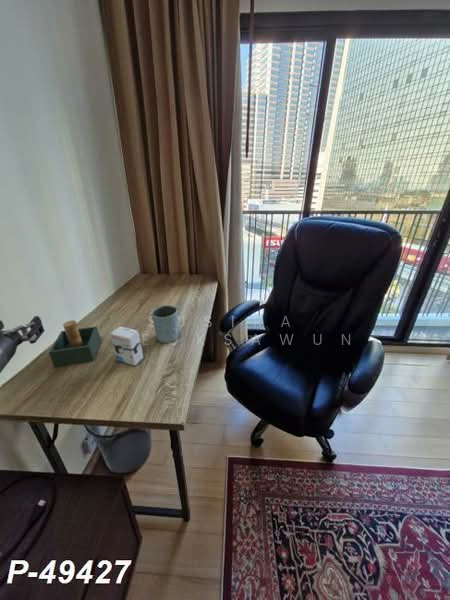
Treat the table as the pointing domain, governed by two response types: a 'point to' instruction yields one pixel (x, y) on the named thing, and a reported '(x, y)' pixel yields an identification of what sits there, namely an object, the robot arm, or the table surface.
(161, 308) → the blue grey cup
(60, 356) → the bin
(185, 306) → the table surface
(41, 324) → the robot arm
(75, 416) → the table surface
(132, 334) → the ink box
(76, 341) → the wooden cylinder
